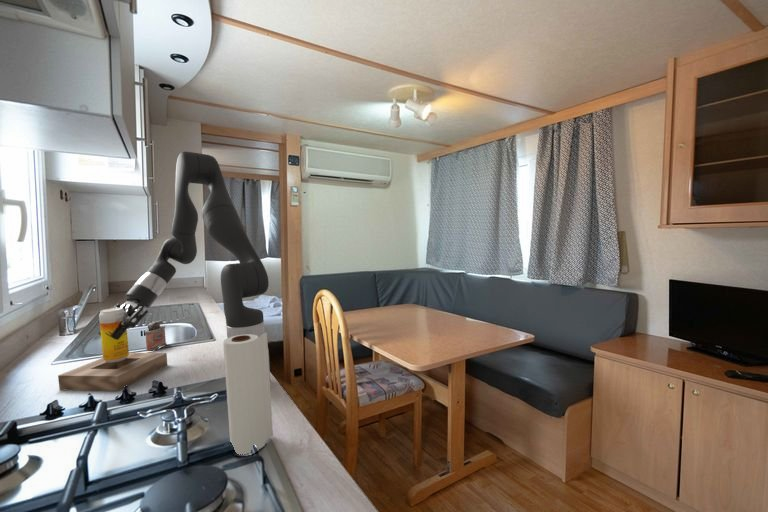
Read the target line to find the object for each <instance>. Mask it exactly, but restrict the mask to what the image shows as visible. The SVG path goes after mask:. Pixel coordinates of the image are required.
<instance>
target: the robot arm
mask: <svg viewBox="0 0 768 512" xmlns="http://www.w3.org/2000/svg"><path fill="white" fill-rule="evenodd" d="M218 162H219V161H217V159H216V157H214V156H213V155H210V154H205V153H198V152H193V151H182V152H180V153H179V155H178V157H177V159H176V163H175V164H176V165H175V180H174V181H175V186H174V187H175V190H174V197H175V198H174V213H173V220H172V225H171V230H170V231H171V235H172V236H173V237H170V238H168V239H166V240H165V241H164V242H163V244H162V245H161V248H160V249H159V253H158V255H157V256H156V259H155V260H154V262H153V264H152V265H151V266H150V267H149V268H148V269H147V271H146V272H145V273H144V274H142V275H141V276H140V277H139V279H137V280H136V281H135V283H134V284H133V285H132V287H130V289H129V290H128V291H127V292H126V293H125V295H124V297H125V299H126V301H125V302H124V303H122V304H120V303H116V304H115V305H114V306H113V308H123V310H124V311H125V313H124V316H123V320H122V322H121V324H120V325H119V326H118V327H117V328H116V329H115V331H114V332H113V333H112V334H111V337H112V338H113V339H115V340H118V339H119V338H120V337H121V336H122V334H123V333H124V332H125V331H126V329H127V330H130V328H133V329H134V328H135V327H136V326H137V325H138V324H139V323H140V321H142V319H143V318H144V317H145V316H146V315H147V314H148V312H149V310H147V309H149V308H151V306H152V304H154V302H155V300H156V299H157V298H158V297H159V296H160V294H162V292H163V291H164V290H165V288H166V286H167V285H168V283H169V282H170V281H171V280H172V278H173V277H175V274H176V273H177V268H176V267H175V265H173V264H172V263H170V262H169V261H168V260H173V261H175V262H177V263H180V264H182V265H189V264H191V263H193V262H194V261H195V259H196V257H197V252H198V250H197V248H198V247H197V241H196V240H197V239H196V232H197V226H198V222H199V213H198V210H197V208H196V206H195V204H194V202H193V200H192V198H191V196H190V193H189V185H190V184H198V185H199V184H200V185H206V186H207V187H208V189H209V191H210V192H209V195H208V196H207V198H206V201H204V204H203V205H202V209H201V218H202V220H203V223H204V225H205V228H206V230H207V232H208V234H209V236H210V237H211V238H212V239H213V241H215V242H216V243H218V244H219V245H220V246H222V247H223V248H225V249H226V250H227V251H229V252H230V253H231V254H232V255H233V256H234V257H235V258H236V259H237V260H238V262H239V263H228V264H225V265H224V266H223V267H222V269H221V272H220V286H221V288H220V289H221V295H222V303H223V314H224V317H225V323H226V325H225V326H226V339H227V338H230V337H233V336H237V335H244V334H252V335H257V336H258V338H259V337H260V336H261V335H262V334H264V333H265V323H264V322H265V321H264V320H265V319H264V318H265V317H264V312H263V311H262V310H261V309H258V308H252V307H249V306H248V307H247V306H246V305H244V302H243V301H244V300H243V299H245V298H252V297H256V296H261V295H264V294H265V293H267V291H268V290H269V285H270V284H269V283H270V282H269V276H268V273H267V269H266V268H265V266H264V263H263V261H262V260H261V258H260V257H259V255H258V253H257V251H256V250H255V248H254V247H253V245H252V243H251V241H250V239H249V237H248V235H247V233H246V230H245V228H244V226H243V223H242V221H241V218H240V216H239V214H238V211H237V209H236V207H235V205H234V204H233V201H232V199H231V197H230V194H229V192H228V189H227V185H226V183H225V180H224V176H223V173H222V170H221V167H220V164H219V163H218ZM97 333H98V335H99V336H100V337H101V331H100V330H99V331H98V332H97ZM269 353H270V352H269V349H268V361H269V362H270V354H269ZM269 377H270V378H271V371H270V366H269Z"/></svg>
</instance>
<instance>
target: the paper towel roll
mask: <svg viewBox="0 0 768 512" xmlns="http://www.w3.org/2000/svg"><path fill="white" fill-rule="evenodd" d="M222 342H223V343H222V345H223V356H224V369H225V370H224V371H225V386H226V401H227V416H228V431H229V432H228V433H229V443H230V442H231V443H232V445H233V447H234V450H235V452H236V453H237V454H239V455H240V454H241V455H242V454H243V455H244V454H247V453H250V452H251V450H252V447H253V445H254V444H255V445H256V446H257V447H260V446H261V445H262V444H263V443H264V442H265V441H266V440H267V439H268V438H269V439H271V437H272V436H274V433H273V432H274V431H273V429H274V428H273V414H272V397H271V395H272V394H271V376H270V377H269V367H270V360H269V361H268V350H269V347H268V332H264V334H262V335H261V336H260V337H259V338H258V336H257V335H252V334H244V335H237V336H233V337H230V338H227V337H226V339H224V340H223V341H222Z"/></svg>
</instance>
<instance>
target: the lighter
mask: <svg viewBox="0 0 768 512" xmlns="http://www.w3.org/2000/svg"><path fill="white" fill-rule="evenodd" d="M162 324H163V320H161V319H160V320H157V321H152V322H151V321H150V323H149V324H147V329H145V330H144V334H145V345H146V349H145V351H153V350H156V349H158V348H159V347H158V346H163V345H167V341H166V325H162ZM158 350H159V349H158ZM156 351H157V350H156ZM153 352H154V351H153Z"/></svg>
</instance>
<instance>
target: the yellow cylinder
mask: <svg viewBox="0 0 768 512" xmlns="http://www.w3.org/2000/svg"><path fill="white" fill-rule="evenodd" d="M99 312H100V313H99V315H98V318H99V321H98V322H99V329H100V330H99V332H100V331H101V336H100V339H101V349H102V358H103V360H105V361H106V362H108V363H111V362H118V361H121V360H124V359H126V358H127V356H128V355H129V353H130V349H129V340H128V339H129V338H128V329H126V331H125V332H124V333H123V334H122V336H121V337H120V338H119V339H118V340H115V339H113V338H112V337H111V334H112V333H113V332H114V331H115V329H116V328H117V327H118V326H119V325H120V324H121V322H122V320H123V316H124V313H125V311H124V310H123V308H114V307H110V308H106V309H102V310H100V311H99Z"/></svg>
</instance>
